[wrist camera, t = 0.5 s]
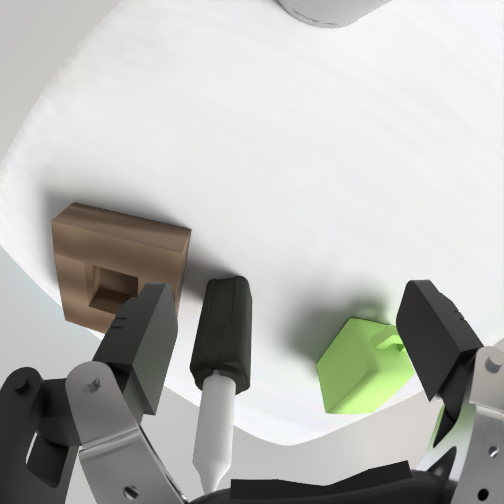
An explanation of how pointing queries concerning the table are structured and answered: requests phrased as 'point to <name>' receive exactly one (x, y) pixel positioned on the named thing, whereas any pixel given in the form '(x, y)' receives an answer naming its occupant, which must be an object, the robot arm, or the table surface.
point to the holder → (113, 261)
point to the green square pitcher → (363, 367)
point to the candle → (220, 373)
